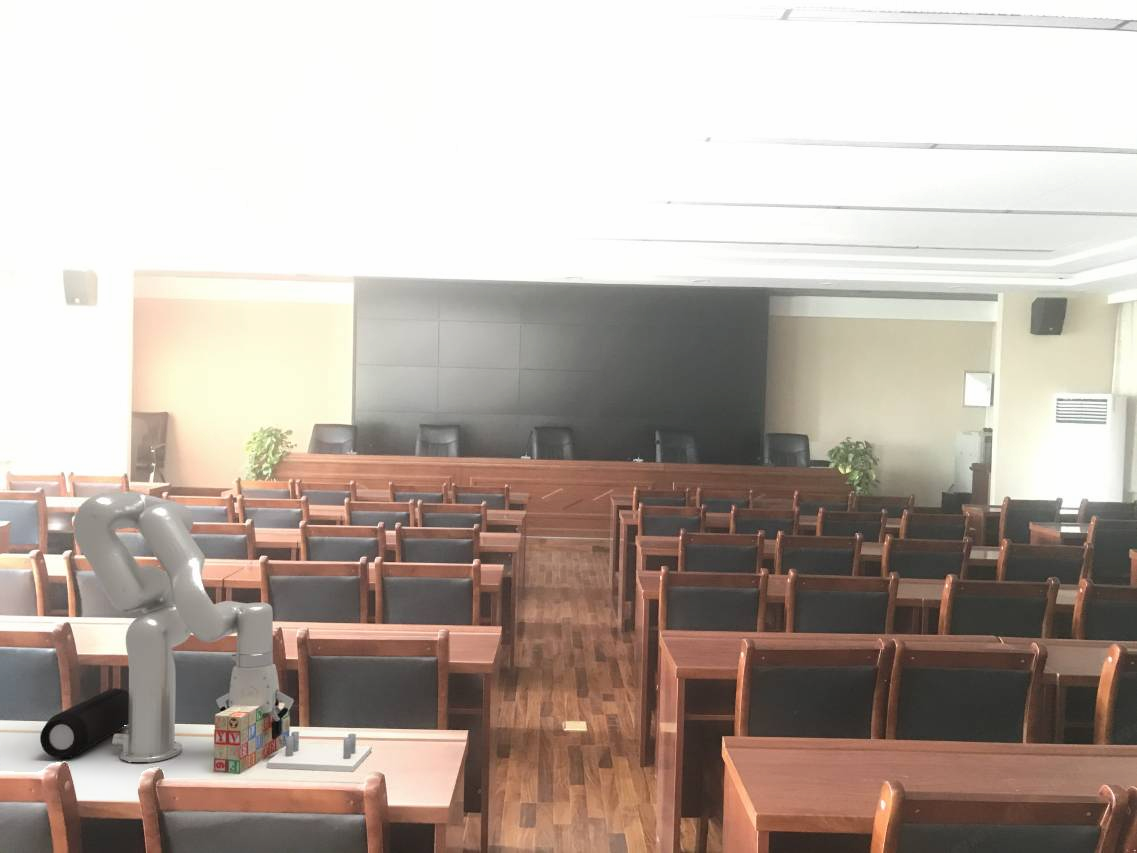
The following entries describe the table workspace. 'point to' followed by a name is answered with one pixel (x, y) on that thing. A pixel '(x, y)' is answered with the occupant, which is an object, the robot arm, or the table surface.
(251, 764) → the stack of blocks
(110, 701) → the portable speaker
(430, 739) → the table surface
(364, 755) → the peg board
